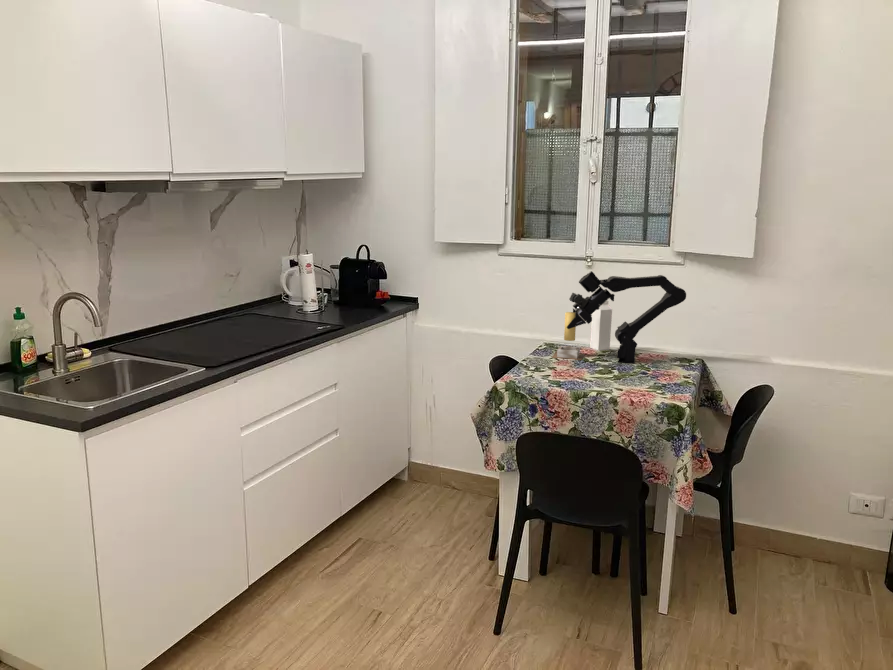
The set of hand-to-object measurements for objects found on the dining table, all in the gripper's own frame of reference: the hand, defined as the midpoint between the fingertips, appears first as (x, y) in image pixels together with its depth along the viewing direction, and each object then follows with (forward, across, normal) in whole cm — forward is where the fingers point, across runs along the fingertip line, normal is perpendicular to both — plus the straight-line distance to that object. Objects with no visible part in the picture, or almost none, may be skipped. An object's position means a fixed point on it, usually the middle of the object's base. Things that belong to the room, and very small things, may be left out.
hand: (566, 327), depth 287 cm
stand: (+9, -1, +10) cm, 14 cm away
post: (+3, 0, +5) cm, 5 cm away
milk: (-2, -16, +21) cm, 27 cm away
